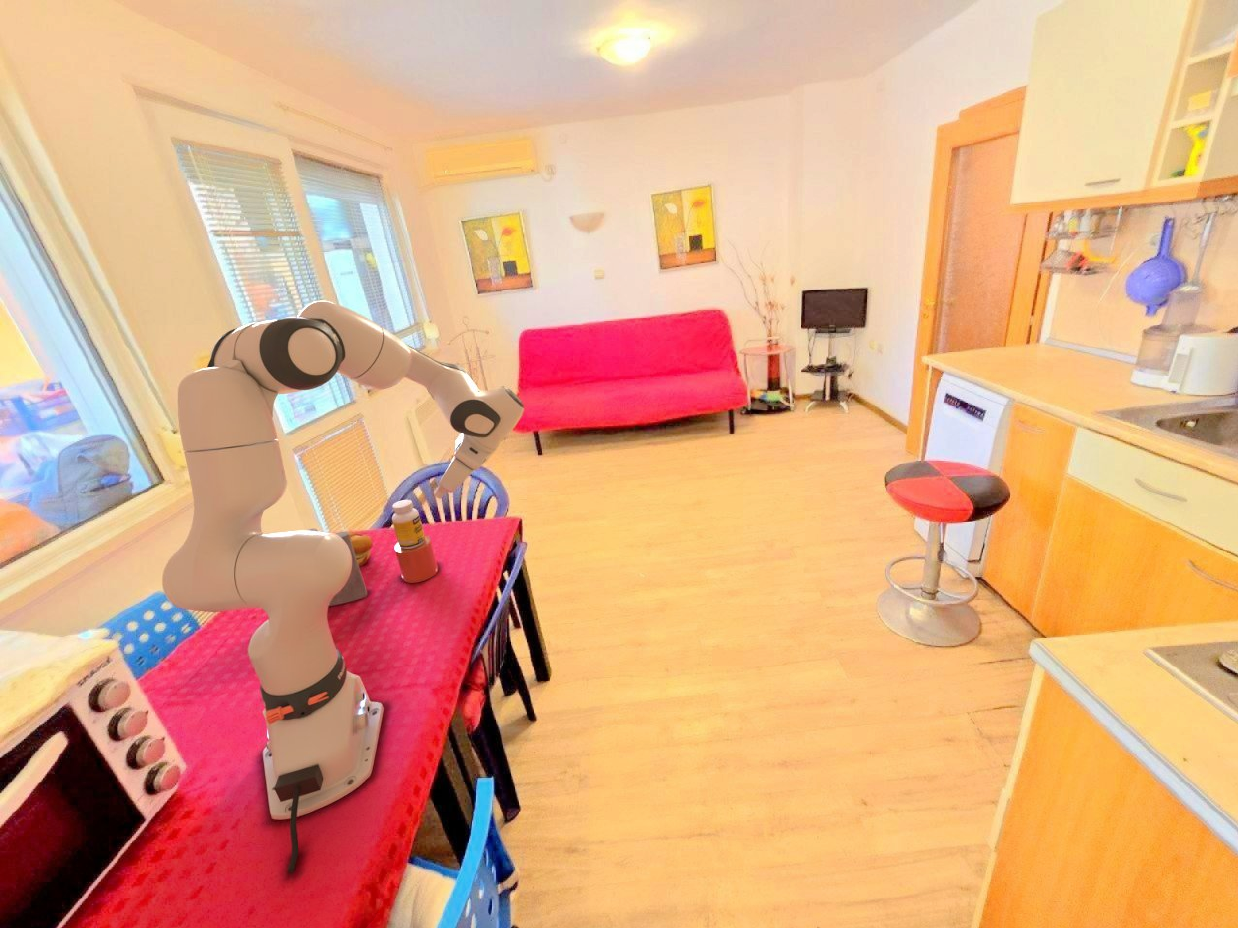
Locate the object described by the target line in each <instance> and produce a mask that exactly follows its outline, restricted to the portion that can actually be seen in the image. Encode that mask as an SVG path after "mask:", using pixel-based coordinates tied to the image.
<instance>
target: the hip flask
mask: <svg viewBox="0 0 1238 928" xmlns="http://www.w3.org/2000/svg"><path fill="white" fill-rule="evenodd" d="M306 531H318V529H317V528H309V529H306ZM348 532H349V531H341V532H337V533H335V534H337V535H339V536H340V537H341V538H342V539H343V540H344V541H345V543H346V544H347V545H348V547H349V549H350V552H351V556H352V570H351V574H350V577H349V579H348V581H347V583H346V584H345V586H344V587H343V588H342V589H341V590H340V591H339V592H338V593H337V594H336V595H335V596H334V597H333V599H332V600H331V602H330V604H329V607H333V606H337V605H341V604H346V603H347V604H348V603H350V602H354V601H358V600H361V599H364V598H365V597H367V596H368V590H367V586H366V584H365V581H364V578H363V574H362V571H361V568H360V567H359V565H358V561H357V558H356V555H355V552H354V549H353V546H352V543H351V539H350V536H349V533H348Z"/></svg>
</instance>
